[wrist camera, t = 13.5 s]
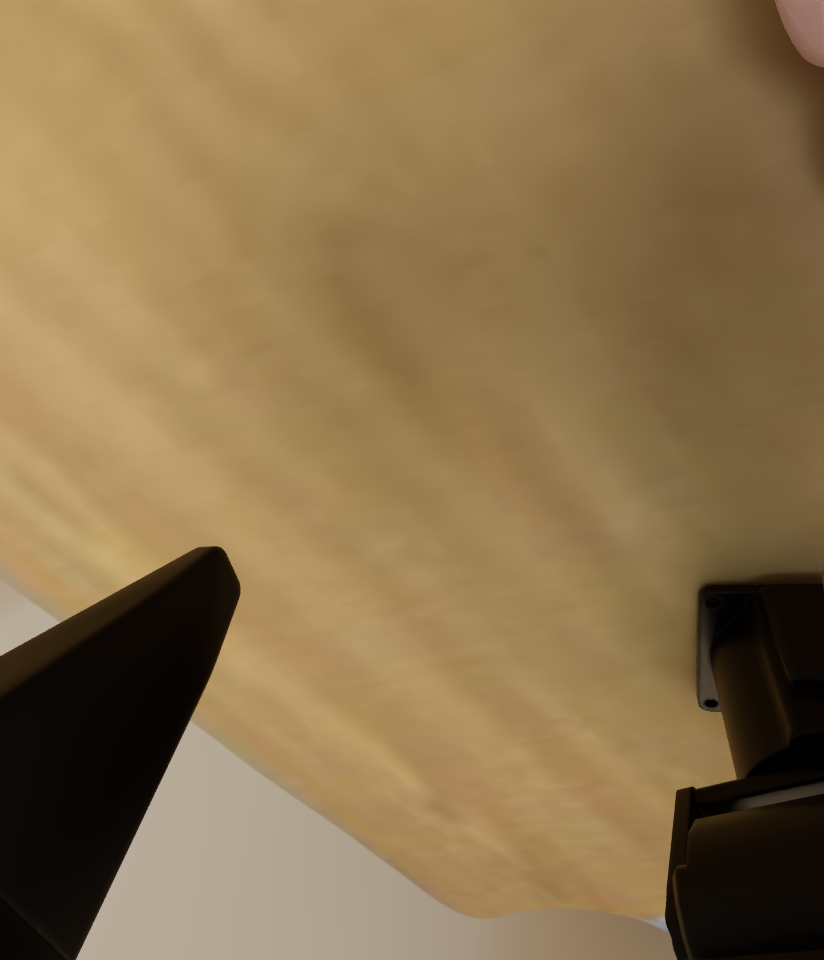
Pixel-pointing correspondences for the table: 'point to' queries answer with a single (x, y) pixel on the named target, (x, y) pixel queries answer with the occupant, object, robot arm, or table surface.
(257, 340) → the table surface
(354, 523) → the table surface
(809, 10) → the rabbit figure
